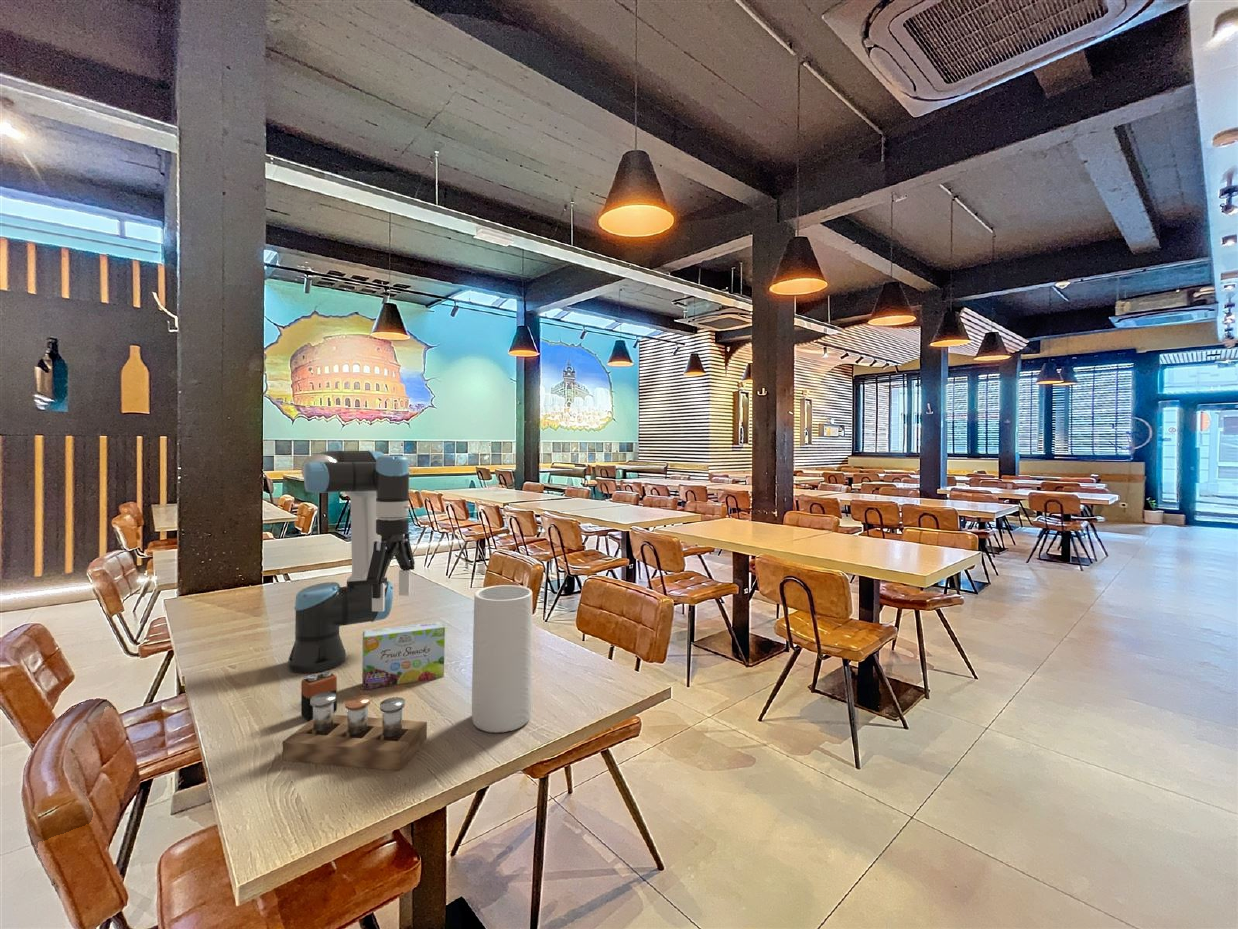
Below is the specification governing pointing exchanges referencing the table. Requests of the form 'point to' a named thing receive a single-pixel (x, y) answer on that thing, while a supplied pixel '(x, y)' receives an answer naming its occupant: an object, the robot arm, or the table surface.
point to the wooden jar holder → (355, 744)
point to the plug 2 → (392, 716)
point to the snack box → (403, 654)
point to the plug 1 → (323, 710)
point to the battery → (316, 691)
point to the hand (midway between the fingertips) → (392, 602)
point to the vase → (502, 658)
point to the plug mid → (357, 713)
